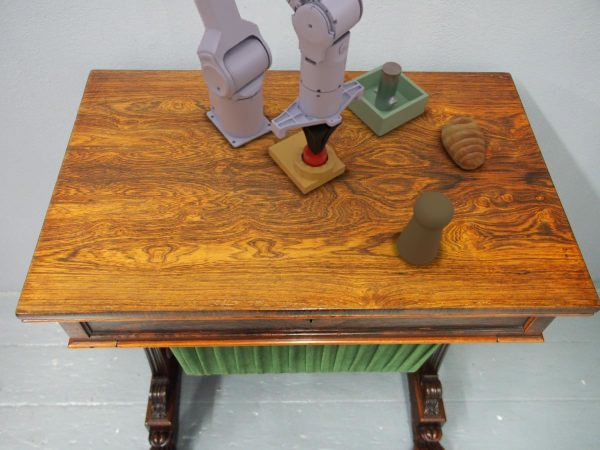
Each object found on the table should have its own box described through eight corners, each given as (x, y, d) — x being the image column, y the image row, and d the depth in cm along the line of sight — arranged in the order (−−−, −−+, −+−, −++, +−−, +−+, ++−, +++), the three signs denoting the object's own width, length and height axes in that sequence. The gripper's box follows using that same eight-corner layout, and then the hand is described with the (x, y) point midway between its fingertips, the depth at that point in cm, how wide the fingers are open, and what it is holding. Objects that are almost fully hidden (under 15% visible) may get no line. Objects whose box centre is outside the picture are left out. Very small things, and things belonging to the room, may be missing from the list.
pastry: (491, 170, 81) (499, 154, 78) (451, 173, 80) (458, 158, 77) (473, 129, 86) (480, 112, 83) (435, 131, 85) (441, 115, 82)
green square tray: (341, 101, 89) (343, 83, 85) (385, 79, 92) (389, 61, 89) (379, 136, 84) (383, 119, 81) (423, 112, 88) (429, 94, 84)
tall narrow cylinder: (368, 101, 88) (375, 64, 82) (382, 94, 89) (390, 57, 83) (384, 115, 86) (393, 79, 80) (398, 108, 87) (408, 71, 81)
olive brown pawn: (436, 268, 70) (460, 226, 61) (394, 260, 71) (411, 217, 62) (438, 233, 74) (461, 188, 65) (398, 226, 74) (415, 180, 65)
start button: (298, 155, 77) (298, 147, 76) (317, 145, 78) (317, 138, 77) (312, 170, 76) (312, 162, 74) (330, 160, 77) (331, 152, 75)
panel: (268, 154, 81) (268, 139, 78) (307, 134, 84) (308, 119, 81) (305, 195, 77) (306, 181, 74) (345, 173, 80) (348, 158, 77)
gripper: (293, 118, 60) (291, 187, 71) (384, 74, 65) (368, 145, 76) (261, 85, 63) (264, 156, 74) (350, 45, 68) (340, 118, 79)
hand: (315, 149), depth 75 cm, fingers closed
